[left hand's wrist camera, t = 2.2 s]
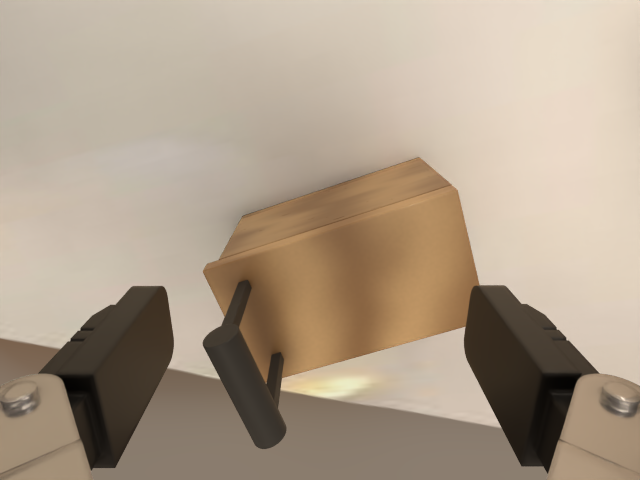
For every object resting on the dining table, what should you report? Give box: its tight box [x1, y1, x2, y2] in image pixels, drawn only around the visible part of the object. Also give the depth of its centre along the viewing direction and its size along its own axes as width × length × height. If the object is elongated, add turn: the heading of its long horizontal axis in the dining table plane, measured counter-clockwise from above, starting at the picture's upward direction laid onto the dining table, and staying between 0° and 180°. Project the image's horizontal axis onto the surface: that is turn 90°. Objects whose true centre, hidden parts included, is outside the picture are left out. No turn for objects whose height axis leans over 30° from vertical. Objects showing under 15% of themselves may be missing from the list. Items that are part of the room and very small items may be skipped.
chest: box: [219, 158, 451, 260], centre depth 33 cm, size 16×9×9 cm, turn 109°
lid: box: [203, 185, 479, 449], centre depth 25 cm, size 16×9×8 cm, turn 109°
